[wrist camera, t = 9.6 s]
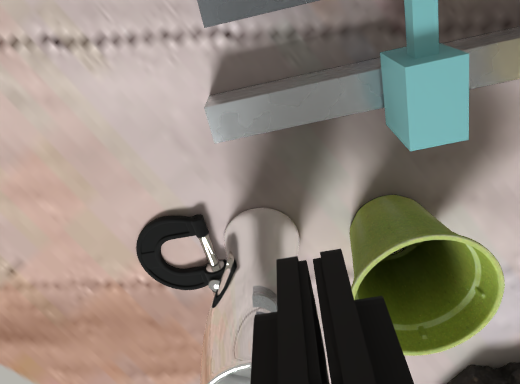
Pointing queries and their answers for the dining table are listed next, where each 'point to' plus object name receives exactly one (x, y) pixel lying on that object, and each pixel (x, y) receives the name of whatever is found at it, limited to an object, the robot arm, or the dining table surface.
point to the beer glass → (245, 292)
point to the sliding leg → (425, 83)
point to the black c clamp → (173, 276)
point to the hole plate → (240, 9)
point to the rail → (344, 90)
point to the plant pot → (423, 275)
